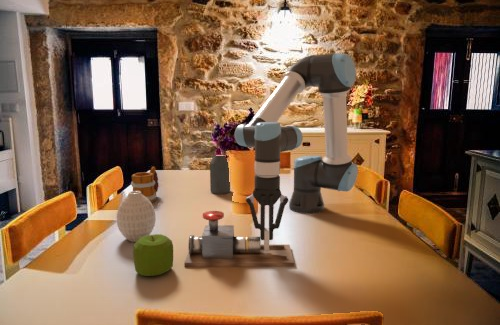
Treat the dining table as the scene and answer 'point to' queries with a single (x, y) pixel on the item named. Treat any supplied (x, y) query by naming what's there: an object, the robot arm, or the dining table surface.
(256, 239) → the pipe
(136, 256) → the apple
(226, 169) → the bottle
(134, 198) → the vase
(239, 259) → the board
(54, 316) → the dining table surface
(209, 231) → the gate valve
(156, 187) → the mug
